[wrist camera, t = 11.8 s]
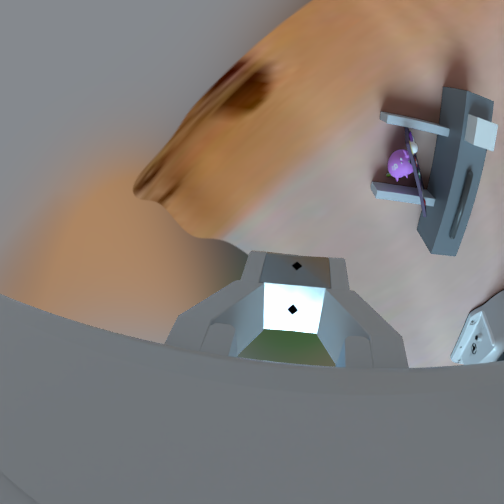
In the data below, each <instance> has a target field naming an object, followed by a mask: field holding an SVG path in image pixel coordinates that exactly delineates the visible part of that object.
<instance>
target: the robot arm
mask: <svg viewBox="0 0 504 504" xmlns="http://www.w3.org/2000/svg"><path fill="white" fill-rule="evenodd" d="M263 328H266V329H278V330H290V329H291V331H300V332H309V333H317V335H318V337H319V339H320V340H321V342H322V343H323V345H324V346H325V348H326V349H327V351H328V353H329V354H330V356H331V358H332V359H333V361H334V362H335V364H336V366H335V367H330V366H329V367H328V366H313V365H301V364H290V363H280V362H270V361H262V360H254V359H246V358H239V357H238V354H239V353H240V352H241V351H242V350H243V349H244V348H245V347H246V346H247V345H248V344H249V343H250V342H251V341H252V340H253V339H255V338H256V336H258V335H259V333H260V332H262V330H263ZM450 358H451V360H452V361H453V362H455V363H460V364H464V365H458V366H444V367H427V368H409V367H408V362H407V357H406V352H405V348H404V343H403V339H402V336H401V335H400V334H399V333H398V332H397V331H395V330H394V329H393V328H392V327H391V326H390V325H389V324H388V323H387V322H386V321H385V320H384V319H383V318H382V317H381V316H380V315H379V314H378V313H377V312H376V311H375V310H374V309H373V308H372V307H371V306H370V305H369V304H368V303H366V302H365V301H364V300H363V299H362V298H361V297H360V296H359V295H358V294H357V293H356V292H355V291H351V290H349V283H348V276H347V269H346V263H345V259H344V258H330V257H329V258H327V257H311V256H298V255H291V254H282V253H272V252H263V251H251V252H250V253H249V256H248V259H247V262H246V265H245V268H244V271H243V275H242V277H241V280H240V281H238V280H236V281H234V282H232V283H231V284H229V285H228V286H226V287H224V288H223V289H221V290H220V291H218V292H216V293H215V294H213V295H211V296H210V297H208V298H207V299H205V300H204V301H202V302H200V303H198V304H197V305H195V306H194V307H192V308H190V309H189V310H187V311H185V312H184V313H182V314H180V315H179V316H178V318H177V320H176V322H175V324H174V326H173V328H172V330H171V332H170V334H169V336H168V338H167V340H166V342H165V344H160V343H156V342H152V341H147V340H142V339H139V338H135V337H131V336H126V335H123V334H118V333H114V332H111V331H107V330H104V329H100V328H97V327H93V326H90V325H86V324H83V323H80V322H77V321H73V320H70V319H67V318H64V317H61V316H58V315H55V314H52V313H49V312H46V311H43V310H40V309H38V308H35V307H32V306H30V305H27V304H24V303H21V302H19V301H16V300H14V299H11V298H9V297H6V296H4V295H2V294H0V504H504V290H503V291H501V292H500V293H498V294H496V295H495V296H494V297H492V298H491V299H490V300H489V301H488V302H486V303H485V304H484V305H483V306H481V307H479V308H477V309H475V310H473V311H472V312H470V314H469V315H468V318H467V320H466V323H465V325H464V328H463V330H462V332H461V335H460V337H459V339H458V341H457V344H456V346H455V348H454V350H453V352H452V354H451V357H450Z"/></svg>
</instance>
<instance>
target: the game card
mask: <svg viewBox="0 0 504 504" xmlns="http://www.w3.org/2000/svg"><path fill="white" fill-rule="evenodd" d="M405 142H406V146H407V149H408V150H403V149H400V150H396V151H395V152H393V153H392V155H391V156H390V158H389V160H388V171H389V173H387V174H386V176H387V177H390V176H393V177H395V178H396V180H397V182H398V180H399V178H401V177H403V176H406V178H408V174H410V173H412V172H413V171H414V175H415V180H416V184H417V188H418V192H419V197H420V202H421V207H422V212H423V217H427V215H426V202H425V199H424V198H423V190H424V186H423V181H422V177H421V173H420V168H419V165H418V161H417V157H416V152H417V150H418V146H417V144H416V143H415V142H414V137H413V138H412V134H411V131H410V132H409V129H408V127H405Z"/></svg>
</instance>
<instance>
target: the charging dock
mask: <svg viewBox="0 0 504 504" xmlns="http://www.w3.org/2000/svg"><path fill="white" fill-rule="evenodd" d="M493 104H494V101H491V100H489V99H487V98H484V97H482V96H479V95H477V94H474V93H472V92H469V91H466V90H460V89H455V88H449V87H443V92H442V103H441V112H440V120H439V124H437V123H433V122H429V121H425V120H421V119H416V118H412V117H407V116H402V115H398V114H392V113H387V112H382V111H381V113H380V120H382V121H384V122H385V123H388V124H393V125H399V126H404V127H408V128H413V129H418V130H422V131H427V132H431V133H435V134H438V135H437V141H436V147H435V153H434V159H433V164H432V169H431V174H430V179H429V183H428V188H427V190H425V189H424V190H423V198H424V199H425V202H426V215H427V217H423V212H421V216H420V219H419V223H418V227H417V231H418V232H419V234H420V236H421V237H422V239H423V241H424V243H425V244H426V246H427V248H428V249H429V251H430V253H431V254H439V255H448V256H456V254H457V251H458V249H459V246H460V243H461V241H462V238H463V235H464V232H465V229H466V226H467V223H468V220H469V217H470V214H471V211H472V208H473V204H474V201H475V197H476V194H477V190H478V186H479V182H480V178H481V174H482V170H483V166H484V161H485V156H486V151H487V149H488V150H491V151H494V146H495V140H496V134H497V128H498V125H496V124H494V123H492V122H491V121H492V113H493ZM371 190H372V192H373V194H374V196H375V198H378V199H386V200H393V201H401V202H408V203H415V204H421V202H420V197H419V192H418V188H413V187H407V186H401V185H394V184H387V183H380V182H372V184H371Z"/></svg>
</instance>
